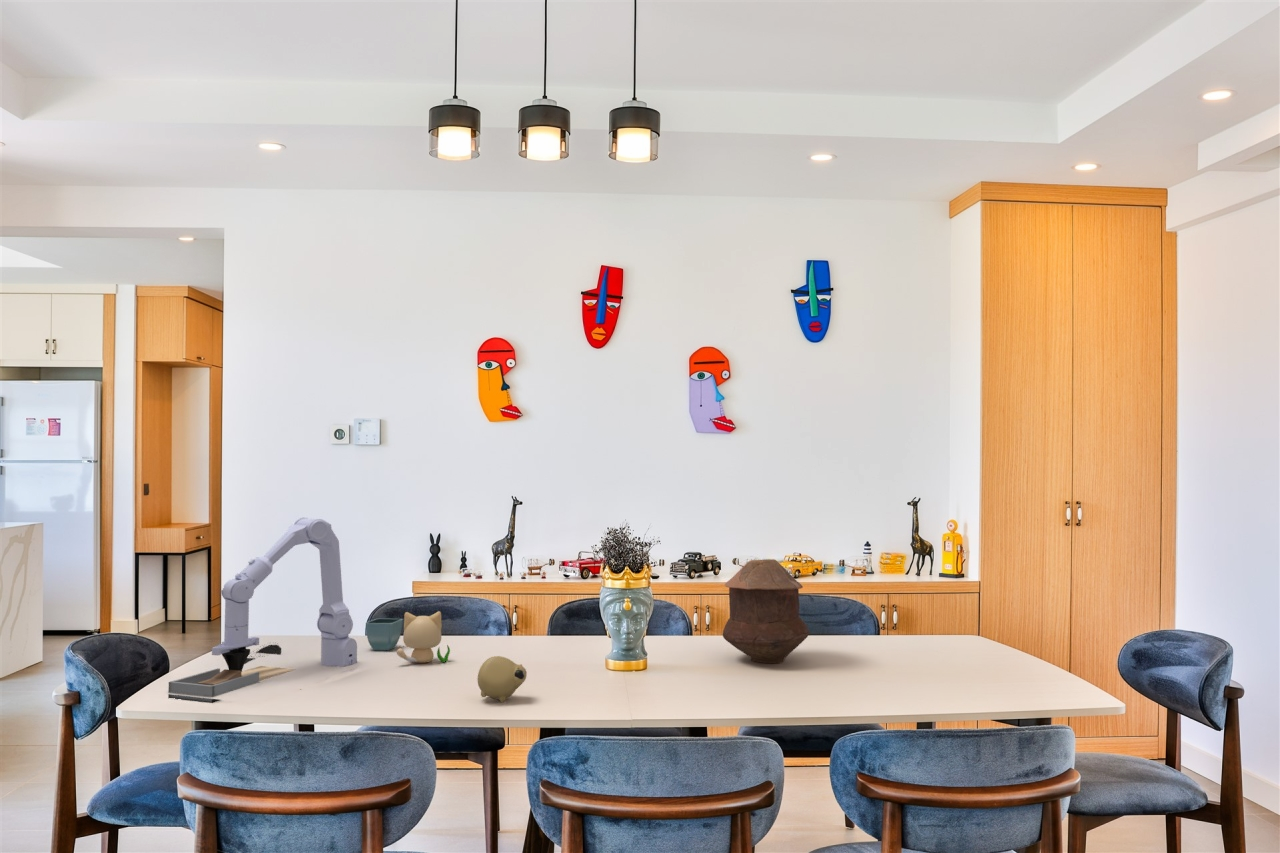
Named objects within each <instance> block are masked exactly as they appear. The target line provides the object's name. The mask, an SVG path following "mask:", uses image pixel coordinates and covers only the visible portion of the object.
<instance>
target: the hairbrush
mask: <svg viewBox="0 0 1280 853" xmlns="http://www.w3.org/2000/svg"><path fill="white" fill-rule="evenodd" d="M261 646H263V647H262V648H261V647H260V649H259V648H256V650H252V652H250V654H251V655H250V654H249V655H250V656H249V655H248V657H247V659H246V661H245V663H244V665H246V664H247V663H249V662H251V661H252V660H256V658H255V657H253V656H252V654H255V655H257V654H259V655H257V658H261V657H262V656H261V654H264V655H263V657H265V654H266V655H267V657H268V656H269V655H278V656H281V655H282V648H281V646H280V645H279V643H278V642H277V644H276V642H274V643H273V644H271V641H270V642H269V644H268V645H263V644H262V645H261ZM257 649H258V650H257ZM250 657H251V658H250Z"/></svg>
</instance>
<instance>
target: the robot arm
mask: <svg viewBox="0 0 1280 853" xmlns="http://www.w3.org/2000/svg"><path fill="white" fill-rule="evenodd" d="M308 543H309V544H311V545H312V546H313V547H315V548H317V549H318V550H319V564H320V578H321V580H320V581H321V593H322V605H321V606H320V608H319V611H318V612H319V615H318V618H317V620H316V627H317V629H318V630H319V632H320V636H321V638H320V639H321V642H320V644H321V645H320V646H321V649H320V650H321V651H320V664H321V666H327V667H342V668H344V667H347V666H351V665H354V664H356V663H358V662H357V661H358V642H357V640H356V639H354V638H352V637H350V636H349V634H351V632H352V630H353V626H354V622H353V619H352V618H351V615H350V609H349V608H348V606H347V605H346V604H345V603H344V598H343V597H344V596H343V582H342V568H341V566H342V565H341V550H340V542H339V539H338V537H337V536H336V534H335V531H334V530H333V528H332V524H331V523H329V522H327V521H326V520H324V519H322V518H309V517H300V518H299V519H296V520H295V522H294V523H293V524H291V525H290V526H289V527H288V528H287V530H286V532H285V533H284V534H283V535H282V536H281V537H280V538H279V539H278V540H277V541H276V542H275V543H274V545H273V546H271V547H270V548H269V550H268V551H267V552H266V553H265V554H264V555H263V556H262V557H261V556H260V557H255V558H254V559H253V558H251V559H250V560H249V561H248V564H247V565H246V567H245V568H244V569H242V570H241V572H239V573H236V574H235V575H234V577H235V578H232V579H229V580H228V581H226V582H225V583H224V585H223V587H222V589H221V590H220V594H221V596H222V598H223V599H224V601H225V602H224V604H225V605H224V606H225V607H224V638H223V639H224V640H223V641H222V642H221V643H219V644H218V645H216V646H213V647H211V655H212V656H220V655H221V656H222V658H223V659H224V660H225V663H226V665H227V668H228V670H239V671H241V672H242V671H243V668H244V665H245V664H244V663H245V661H246V659H247V658H249V654H250V653H251V649H250V648H248V647H252V646H253V647H254V646H259V645H260V637H259V636H258V637H256V636H252V637H249V624H250V623H249V622H250V621H249V617H250V613H249V612H250V610H249V609H250V599H252V598H253V596H254V592H255V589H256V588H258V586H259V585H261V584H262V582H264V581H265V579H267V578H268V576H270V575H271V573H272V572H273V565H275V564H276V563H277V562H278V561H279V560H280V559H281V558H283V557H284V555H286V554H287V553H288V552H289V551H290V550H292V549H293V548H294V547H295V546H298V545H303V544H304V545H305V544H308Z"/></svg>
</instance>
